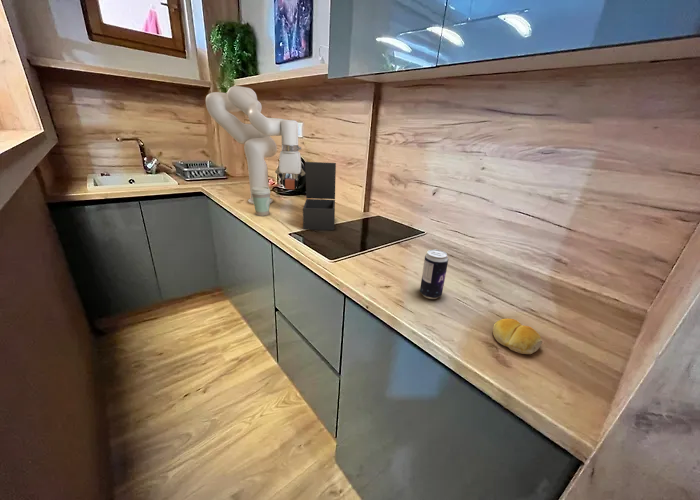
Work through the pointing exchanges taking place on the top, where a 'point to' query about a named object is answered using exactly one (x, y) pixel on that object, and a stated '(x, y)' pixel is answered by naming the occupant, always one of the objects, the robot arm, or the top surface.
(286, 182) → the block
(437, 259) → the beverage can
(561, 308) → the top surface
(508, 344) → the bread roll
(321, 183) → the lid
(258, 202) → the coffee cup
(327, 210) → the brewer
